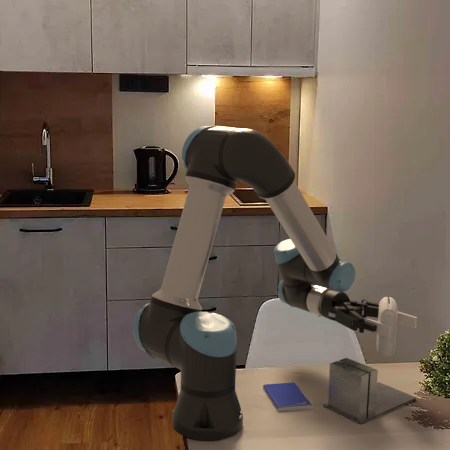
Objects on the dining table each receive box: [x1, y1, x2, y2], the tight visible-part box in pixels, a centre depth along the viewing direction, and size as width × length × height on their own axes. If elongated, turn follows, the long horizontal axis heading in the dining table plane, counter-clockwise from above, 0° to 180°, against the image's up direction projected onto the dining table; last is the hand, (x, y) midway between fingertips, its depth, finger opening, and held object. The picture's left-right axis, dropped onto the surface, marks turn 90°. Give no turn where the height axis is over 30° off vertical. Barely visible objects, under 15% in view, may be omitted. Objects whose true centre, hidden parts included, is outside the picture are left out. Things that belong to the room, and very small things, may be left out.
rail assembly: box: [322, 357, 417, 425], centre depth 164 cm, size 20×11×11 cm, turn 130°
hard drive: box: [262, 382, 313, 412], centre depth 168 cm, size 2×8×12 cm
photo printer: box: [375, 296, 399, 358], centre depth 169 cm, size 10×4×12 cm, turn 169°
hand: (403, 327), depth 166 cm, fingers closed on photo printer, 9 cm apart
